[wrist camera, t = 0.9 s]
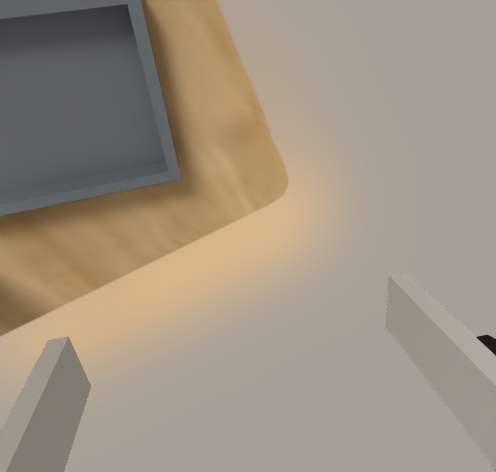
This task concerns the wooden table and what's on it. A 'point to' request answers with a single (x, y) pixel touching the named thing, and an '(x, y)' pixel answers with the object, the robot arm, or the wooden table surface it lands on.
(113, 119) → the tray
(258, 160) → the wooden table surface
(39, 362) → the robot arm
